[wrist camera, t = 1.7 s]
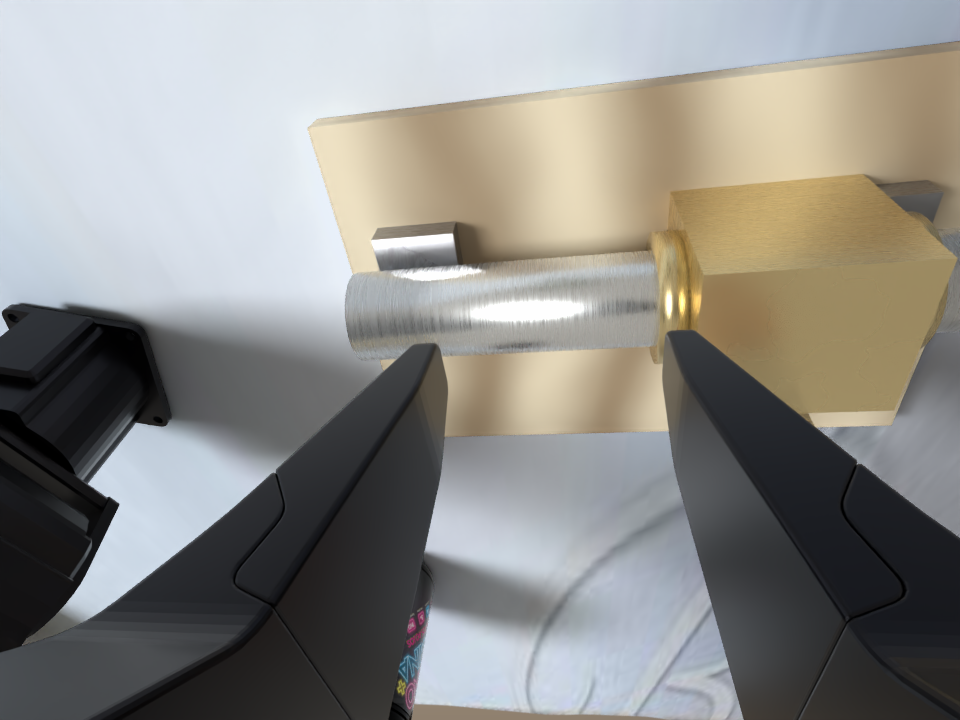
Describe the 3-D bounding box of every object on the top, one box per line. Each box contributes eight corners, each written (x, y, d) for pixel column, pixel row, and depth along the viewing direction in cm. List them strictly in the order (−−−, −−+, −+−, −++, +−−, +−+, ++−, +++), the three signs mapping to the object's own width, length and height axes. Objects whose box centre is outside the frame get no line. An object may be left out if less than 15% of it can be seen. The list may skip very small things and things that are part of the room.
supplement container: (389, 606, 41) (350, 777, 33) (316, 561, 39) (254, 737, 30) (457, 578, 38) (432, 761, 30) (383, 527, 35) (333, 714, 27)
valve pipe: (393, 332, 24) (359, 426, 20) (361, 219, 21) (313, 301, 17) (913, 303, 21) (1006, 407, 17) (966, 164, 18) (1098, 248, 14)
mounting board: (407, 423, 29) (404, 437, 29) (316, 119, 20) (307, 128, 19) (881, 409, 26) (891, 425, 25) (1031, 32, 17) (1055, 39, 16)
